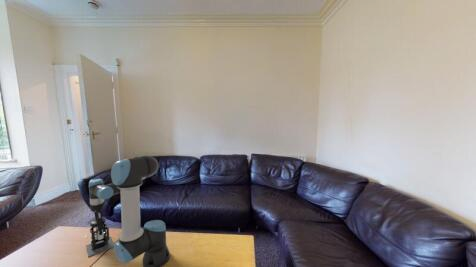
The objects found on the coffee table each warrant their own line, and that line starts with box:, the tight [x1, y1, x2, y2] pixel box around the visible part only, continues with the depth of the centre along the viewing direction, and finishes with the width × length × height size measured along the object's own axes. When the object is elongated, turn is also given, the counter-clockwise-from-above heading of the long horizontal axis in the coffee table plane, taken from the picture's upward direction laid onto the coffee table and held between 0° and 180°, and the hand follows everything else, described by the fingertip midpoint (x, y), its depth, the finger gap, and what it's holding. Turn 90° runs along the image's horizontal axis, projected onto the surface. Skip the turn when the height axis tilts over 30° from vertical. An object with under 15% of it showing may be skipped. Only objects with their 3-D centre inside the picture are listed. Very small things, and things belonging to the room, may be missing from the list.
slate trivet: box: [85, 236, 115, 258], centre depth 126 cm, size 14×14×1 cm
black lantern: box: [88, 211, 110, 249], centre depth 125 cm, size 12×9×23 cm
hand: (99, 235), depth 125 cm, fingers closed on black lantern, 9 cm apart
